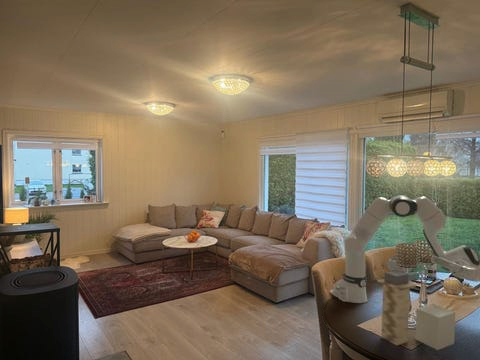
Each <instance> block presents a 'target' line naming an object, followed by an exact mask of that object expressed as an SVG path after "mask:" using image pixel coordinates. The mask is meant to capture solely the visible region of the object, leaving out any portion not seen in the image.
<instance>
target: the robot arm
mask: <svg viewBox="0 0 480 360" xmlns="http://www.w3.org/2000/svg"><path fill="white" fill-rule="evenodd" d="M390 214H394V216H397V217H399V218H406V217H409V216H413V215H415V216H416V217H417V218H418V219H419V221H420V222H421V223H422V226H423V229H422V234H423V236H424V238H425V240H426V242H427V243H428V245H429V247H430V249H431V250H432V252H433V254H432V255H433V256H432V257H431V262H432V263H435V264H437V265H438V266H440V267H441V268H442V269H444V270H445V271H448V272H450V274H451V275H452V276H454V277H456V278H458V279H462V280H466V281H469V282H475V283H477V282H478V283H479V282H480V257H479V254H478V253H477V251H476V250H475V249H474V248H473V247H471V246H469V245H467V244H463V245H460V246H457V247H455V248H452V249H449V250H447V251H446V250H444V249H443V247H442V245H441V243H440V242H439V239H438V237H437V236H438V234H439V233H440V232H441V231H442V230H443V228H444V227H445V226H446V222H447V219H446V216H445V214H444V213H443V212H442V211H441V209H440V208H439V206H437V205H436V204H435V203H434V202H433V201H432V200H431V199H429V198H428V197H426V196H419V197H416V198H415V199H411V198H410V197H409V196H407V195H405V194H402V193H401V194H399V193H398V194H395V195H393V196H391V197H388V198H385V197H381V196H379V197H377V198H375V199H374V200H373V201H372V202H371V203H370V204H369V206H367V208H366V209H365V211H364V212H363V214H362V216H361V217H360V219H358V222H357V223H356V224H355V226H354V228H353V229H352V231H351V232H350V234H349V235H348V236H347V237H346V238H345V240H344V255H345V271H344V273H342V274H341V276H343V277H342V278H341V279H340V280H338V281H336V282H335V283H334V287H333V288H331V289H330V291H329V293H330V294H331V295H333V296H334V297H336V298H337V297H338V298H337V299H339V300H340V301H342V302H344V303H346V302H348V303H353V304H364V303H367V302H368V298H367V288H366V282H367V275H366V266H367V265H366V264H367V263H366V247H367V245H368V244H369V243H370V241H371V240H372V239H373V236H375V234H376V233H377V231H378V230H379V229H380V227H381V226H382V224H383V222H385V220H386V219H387V217H388V216H389V215H390ZM434 255H435V256H434Z"/></svg>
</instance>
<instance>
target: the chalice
mask: <svg viewBox="0 0 480 360" xmlns="http://www.w3.org/2000/svg"><path fill="white" fill-rule="evenodd" d="M396 258H397V257H389V259H388V261H387V267H388V269H389V270H390V271H395V270H398V271H401V272H403V270H402V269H401V268H399V267H398V266H397V264H396Z"/></svg>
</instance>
